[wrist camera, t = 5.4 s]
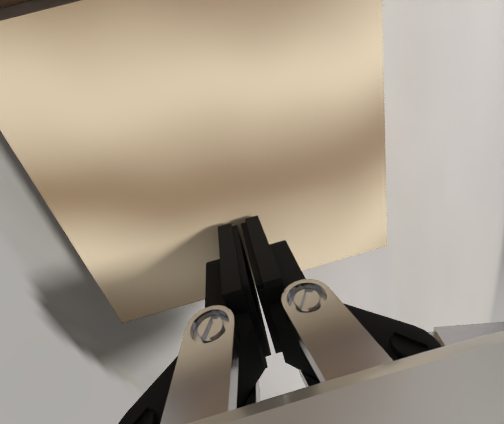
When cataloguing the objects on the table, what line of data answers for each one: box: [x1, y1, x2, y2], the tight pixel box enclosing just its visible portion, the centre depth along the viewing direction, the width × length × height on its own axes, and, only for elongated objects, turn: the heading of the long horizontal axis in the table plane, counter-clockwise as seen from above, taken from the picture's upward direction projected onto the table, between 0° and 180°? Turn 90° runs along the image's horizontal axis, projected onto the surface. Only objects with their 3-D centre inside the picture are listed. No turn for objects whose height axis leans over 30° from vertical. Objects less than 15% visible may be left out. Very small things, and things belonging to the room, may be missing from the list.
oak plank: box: [0, 0, 387, 323], centre depth 10 cm, size 11×12×2 cm
